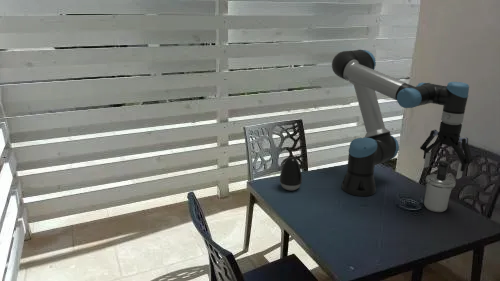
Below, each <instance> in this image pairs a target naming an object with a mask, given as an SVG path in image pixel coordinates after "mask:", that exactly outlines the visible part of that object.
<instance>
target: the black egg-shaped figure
mask: <svg viewBox="0 0 500 281" xmlns="http://www.w3.org/2000/svg"><path fill="white" fill-rule="evenodd" d="M302 176H303V175H302V170H301V166H300V164H299V161H298V156H297V155H295V156H294V157H293V156H289V157H287V159H285V161H284V163H283V165H282V167H281V170H280V175H279V183H280V185H281V187H282V188H283V189H284V190H287V191H296V190H297V189H299V188H300V187H301V184H302V182H303V177H302Z"/></svg>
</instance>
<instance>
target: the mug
mask: <svg viewBox="0 0 500 281" xmlns="http://www.w3.org/2000/svg"><path fill="white" fill-rule="evenodd" d="M452 189H453V188H439V187H435V186H432V185H430V184H428V183H427V182H426V188H425V194H424V201H423V204H424V207H425V208H426V209H427V210H428V211H431V212H435V213H443V212H445V211H447V209H448V205H449V201H450V196H451V192H452Z"/></svg>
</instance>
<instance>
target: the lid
mask: <svg viewBox="0 0 500 281" xmlns="http://www.w3.org/2000/svg"><path fill="white" fill-rule="evenodd" d="M450 163H451V162H449V161H447V160H442V159H441V160H438V161H437V165H438V167H437V172H436V173H431V174H428V175H426V176H425V182H426V184H427V183H428V184H430V185H432V186H435V187H439V188H452V189H453V188H455V186H456V183H457V182H456V180H455V179H453V178H452V177H450V176H448V175H447V173H448V168H449V166H450Z"/></svg>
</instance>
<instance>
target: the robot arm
mask: <svg viewBox="0 0 500 281" xmlns="http://www.w3.org/2000/svg"><path fill="white" fill-rule="evenodd" d="M376 63H377V61H376V58H375V56H374V54H373V53H372V52H370V51H369V50H366V49H355V50H343V51H340V52H337V54H335V56H334V57H333V59H332V62H331V68H332V69H331V70H332V71H333V74H335V75H336V76H337V77H339V78H341V79H342V80H345V81H348V82H349V83H350V84H353V87H354V91H355V95H356V99H357V101H358V105H359V110H360V113H361V117H362V120H363V124H364V129H365V132H366V133H365V136H364V137H358V138H355V139H352V140H351V142H350V144H349V148H348V158H347V159H348V160H347V171H346V174H345V175H344V178H343V180H342V182H341V189H342V190H343V191H344V192H345V193H347V194H350V195H353V196H357V197H358V196H359V197H369V196H372V195H374V194H375V193H376V191H377V185H376V181H375V176H374V175H375V174H374V173H375V166H377V165H379V164H380V165H381V164H382V163H387V162H390V161H391V160H392V159H394V158H396V156H397V155H398V153H399V151H400V150H399V149H400V146H399V141H398V139H397V138H396V137H394V136H393V135H391V131H390V130H389V129H388V128H386V127H385V122H384V119H383V116H382V111H381V108H380V104H379V99H378V97H377V94H376V93H380V94H382V95H383V96H386V97H388V98H390V99H393V100H395V101H396V102H397V103H398V105H399V106H400V107H401V108H404V109H413V108H417V107H419V106H423V105H428V104H433V105H434V104H435V105H439V106H442V114H441V118H440V119H441V122H440V125H439V131H437V129H433V130H431V131H430V133H429V136H428V137H427V138H426V140H425V141H424V142H423V143H422V145H420V148H419V149H420V150H421V151H423V160H424V163H423V168H428V167H429V166H430V161H431V157H432V151H431V150H433V149H435V147H437V146H438V145H439V144H442V145H444V146H445V145H446V146H448V147H451V148H452V149H453V151H454V152H455V153H456V156H457V158H459V160H460V162H459V163H458V167H457V172H456V173H457V174H456V176H455V179H457V180H459V179H461V178H462V176H463V172H465V171H466V168H467V165H469V164H472V163H473V162H474V160H473V159H474V158H473V157H472V153H471V150H470V145H469V138H468V137H461V131H462V128H463V122H464V118H465V117H464V116H465V111H466V108H467V107H466V106H467V102H468V98H469V92H470V84H468V83H466V82H462V81H449V82H448V83H447V85H441V84H435V83H431V82H419V83H418V84H417V85H416V86H414V85H412V84H410V83H406V82H405V81H402V80H399V79H397V78H395V77H392V76H390V75H388V74H385V73H383V72H380V71H378V70H376V69H375V68H376V65H377V64H376ZM436 136H437V137H438V139H436V140H435V141H434V142H433V143H432V144H431V142H432V141H433V139H434V138H435V137H436ZM459 142H460V143H459ZM429 144H430V145H429ZM460 144H461V146H460Z"/></svg>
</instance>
